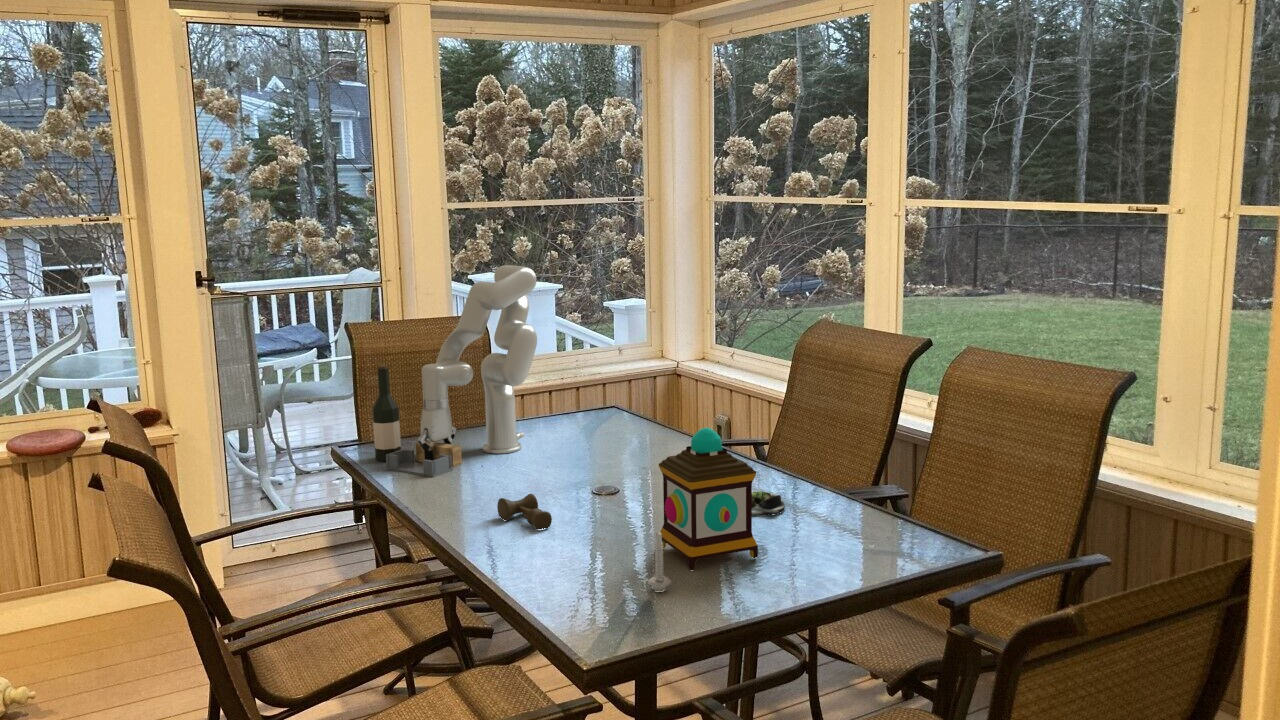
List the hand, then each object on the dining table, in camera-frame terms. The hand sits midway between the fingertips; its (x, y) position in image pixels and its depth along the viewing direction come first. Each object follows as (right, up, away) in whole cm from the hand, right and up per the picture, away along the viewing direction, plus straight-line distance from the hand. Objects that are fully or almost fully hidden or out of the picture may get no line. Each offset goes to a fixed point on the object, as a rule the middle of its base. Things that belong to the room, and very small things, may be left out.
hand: (438, 458), depth 323 cm
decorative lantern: (+78, -14, -83) cm, 115 cm away
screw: (+67, -18, -104) cm, 125 cm away
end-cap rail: (-5, -3, -7) cm, 9 cm away
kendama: (+33, -11, -57) cm, 67 cm away
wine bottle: (-17, -1, +6) cm, 18 cm away
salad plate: (+93, -8, -50) cm, 106 cm away
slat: (0, -1, 0) cm, 1 cm away
